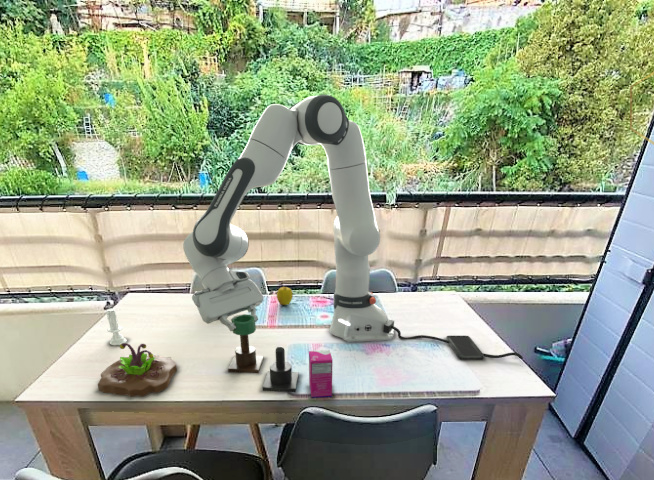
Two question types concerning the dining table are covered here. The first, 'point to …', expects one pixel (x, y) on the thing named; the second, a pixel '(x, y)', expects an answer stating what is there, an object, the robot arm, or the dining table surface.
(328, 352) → the supplement box
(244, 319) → the ring
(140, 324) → the dining table surface
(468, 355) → the phone
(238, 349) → the walnut stand
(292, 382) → the black stand
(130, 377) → the plant
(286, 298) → the apple
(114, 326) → the candle
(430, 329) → the dining table surface
